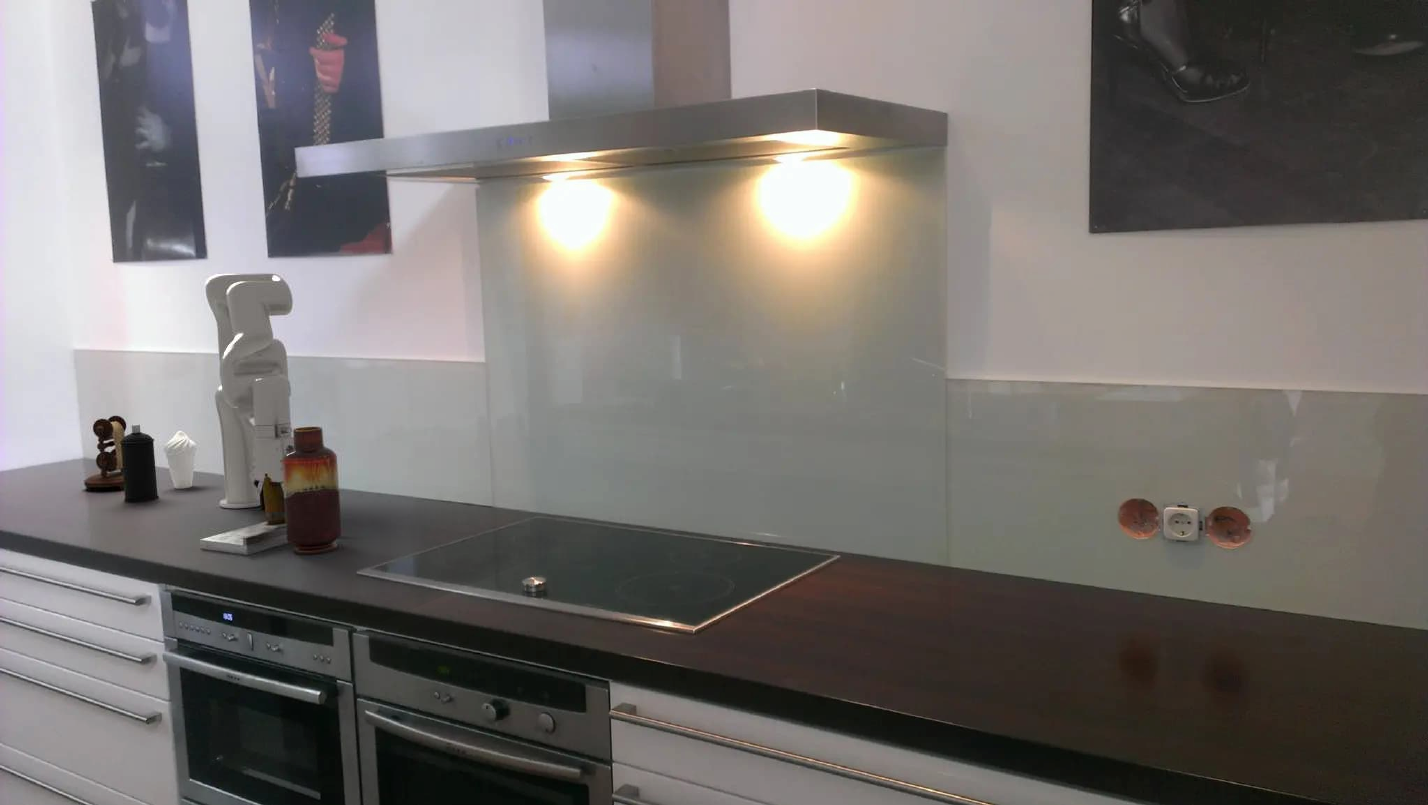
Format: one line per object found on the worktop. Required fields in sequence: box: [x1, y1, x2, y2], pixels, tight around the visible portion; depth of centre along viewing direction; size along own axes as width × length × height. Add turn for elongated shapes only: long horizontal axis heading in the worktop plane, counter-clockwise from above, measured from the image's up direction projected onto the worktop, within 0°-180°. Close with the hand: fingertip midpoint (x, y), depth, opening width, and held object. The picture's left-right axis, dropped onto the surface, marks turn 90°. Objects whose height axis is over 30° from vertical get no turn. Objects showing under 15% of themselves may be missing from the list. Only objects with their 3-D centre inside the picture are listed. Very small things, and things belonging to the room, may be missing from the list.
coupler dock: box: [199, 522, 290, 556], centre depth 242 cm, size 22×14×8 cm, turn 155°
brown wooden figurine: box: [83, 415, 127, 491], centre depth 307 cm, size 15×15×20 cm
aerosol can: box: [119, 423, 160, 503], centre depth 289 cm, size 8×8×20 cm
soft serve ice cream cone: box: [163, 430, 198, 490], centre depth 305 cm, size 8×8×16 cm
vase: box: [282, 426, 342, 555], centre depth 232 cm, size 11×11×26 cm
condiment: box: [260, 474, 286, 526], centre depth 244 cm, size 7×8×12 cm
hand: (278, 510), depth 245 cm, fingers closed on condiment, 6 cm apart
